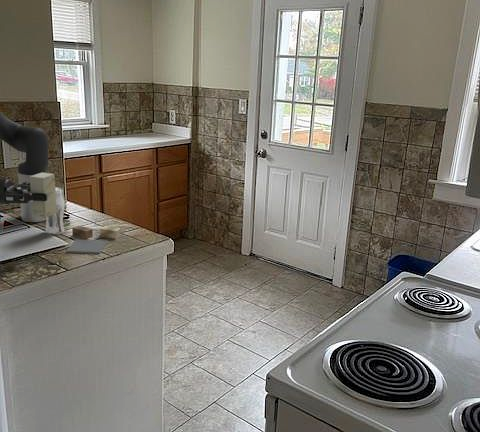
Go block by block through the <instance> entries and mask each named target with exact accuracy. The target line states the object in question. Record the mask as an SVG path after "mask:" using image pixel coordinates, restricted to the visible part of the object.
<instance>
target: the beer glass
mask: <svg viewBox="0 0 480 432" xmlns="http://www.w3.org/2000/svg"><path fill="white" fill-rule="evenodd" d="M55 189H56V210H57V212H56V213H55V214H53V215H51V216H48V217H46V220H45V224H46V225H45V232H44V233H45V234H47V235H50V236H51V235H52V236H55V235H61V234H63V233H65V228H64V222H63V221H64V212H65V203H66V202H65V194H64V193H65V192H64V188H63V187H59V186H55Z"/></svg>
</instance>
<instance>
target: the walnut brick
mask: <svg viewBox="0 0 480 432" xmlns="http://www.w3.org/2000/svg"><path fill="white" fill-rule="evenodd" d="M71 230H72V233H71V234H72V236H73V237H77V238H81V239H83V240H89V239H91V238H93V236H94V232H93V231H94V230H93V228H91V227H86V226H82V225H76V226H73V227H72V228H71Z"/></svg>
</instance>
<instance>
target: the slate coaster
mask: <svg viewBox="0 0 480 432" xmlns="http://www.w3.org/2000/svg"><path fill="white" fill-rule="evenodd" d="M106 244H107V240H97V239H96V240H95V239H74V241H73V242H72V243H71V244H70V246H69V247H68V249H66V253H69V254H93V255H94V254H96V255H100V254H101V253H102V251H103V250H104V248H105V247H106Z"/></svg>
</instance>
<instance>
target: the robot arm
mask: <svg viewBox="0 0 480 432" xmlns="http://www.w3.org/2000/svg"><path fill="white" fill-rule="evenodd" d="M47 135H48V134H47V133H46V131H45V130H43V128H39V127H36V126H35V127H33V126H29V125H24V124H21V123H18V122H15V121H13V120H11V119H9V118H7V117H6V116H5V115H4V114H3V113H2V111H1V110H0V140H1V141H2V142H4V143H6V144H7V145H8V146H10V147H11V148H13V149H15V150H16V151H18V152H20V153H24V154H25V160H24V162H20V163H19V164H18V166H17V176H18V183H17V185H15V184H14V183H13V181H12V179H10V178H0V205H10V204H20V214H21V215H20V216H21V220H22V221H23V222H27V223H28V222H29V223H38V222H39V223H40V222H44V221H45V222H46V218H41V217H35V216H33V215H32V201H33V200H34V201H47V194H46V193H32V192H31V188H30V176H33V175H36V174H39V173H41V172H43V173H47V167H48V164H49V139H48V136H47ZM55 193H56V189H55Z"/></svg>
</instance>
